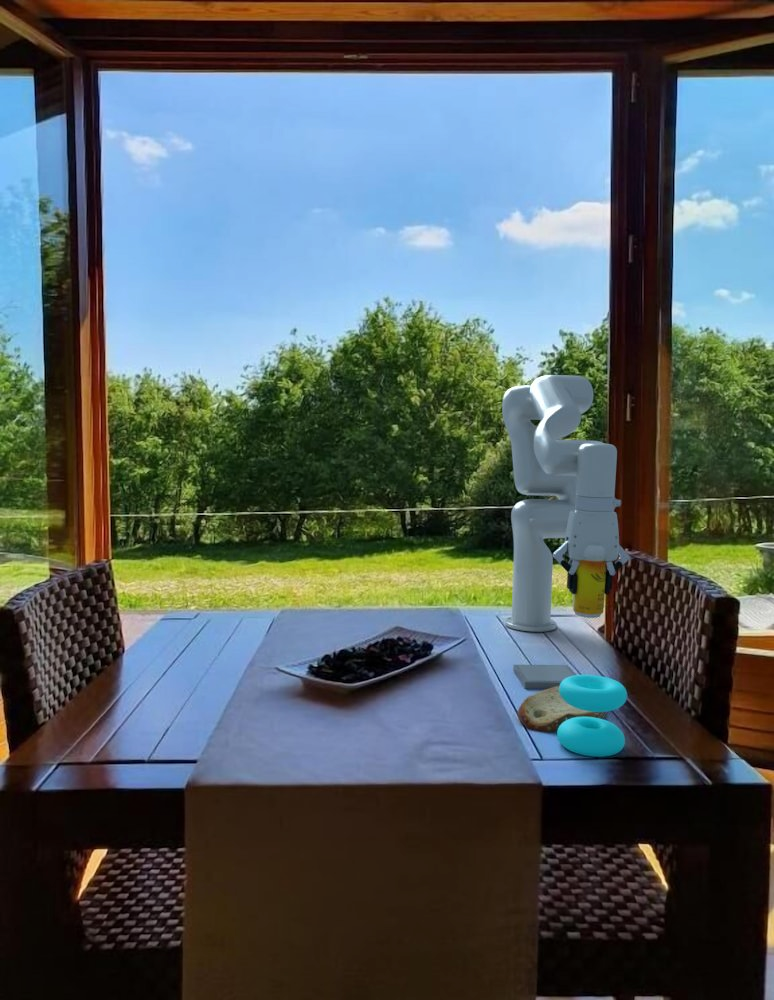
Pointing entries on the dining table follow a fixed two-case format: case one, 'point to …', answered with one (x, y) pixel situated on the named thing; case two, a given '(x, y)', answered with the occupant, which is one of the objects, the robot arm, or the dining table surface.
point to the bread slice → (549, 711)
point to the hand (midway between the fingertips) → (589, 592)
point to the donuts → (590, 731)
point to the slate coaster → (542, 675)
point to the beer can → (590, 583)
